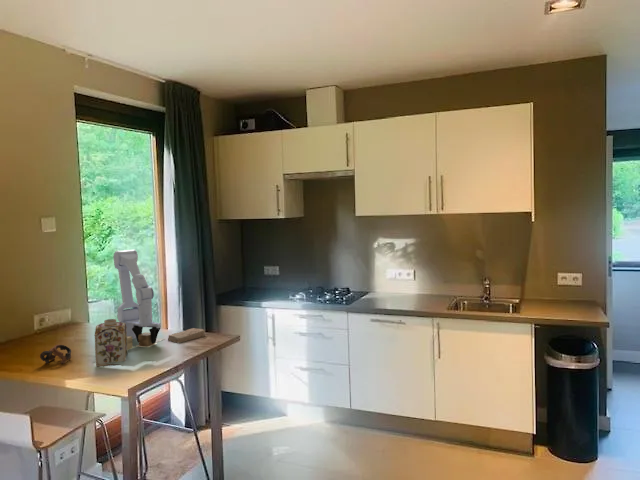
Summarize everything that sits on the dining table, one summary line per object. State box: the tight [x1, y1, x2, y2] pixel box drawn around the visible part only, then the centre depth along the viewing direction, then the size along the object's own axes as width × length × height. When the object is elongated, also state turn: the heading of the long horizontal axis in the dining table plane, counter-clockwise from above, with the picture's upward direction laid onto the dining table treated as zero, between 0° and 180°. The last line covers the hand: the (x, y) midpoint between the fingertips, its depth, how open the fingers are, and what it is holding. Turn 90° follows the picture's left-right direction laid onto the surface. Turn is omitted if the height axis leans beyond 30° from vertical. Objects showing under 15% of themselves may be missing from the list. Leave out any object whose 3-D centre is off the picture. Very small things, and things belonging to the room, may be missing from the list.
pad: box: [156, 337, 165, 344], centre depth 245 cm, size 7×7×1 cm
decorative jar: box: [94, 318, 128, 368], centre depth 217 cm, size 12×12×18 cm
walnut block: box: [138, 331, 156, 346], centre depth 238 cm, size 5×5×5 cm
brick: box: [167, 327, 206, 344], centre depth 249 cm, size 17×8×5 cm, turn 144°
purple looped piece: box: [39, 344, 72, 365], centre depth 217 cm, size 12×10×8 cm
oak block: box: [127, 336, 134, 351], centre depth 232 cm, size 5×5×5 cm
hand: (146, 342), depth 238 cm, fingers open, 7 cm apart
